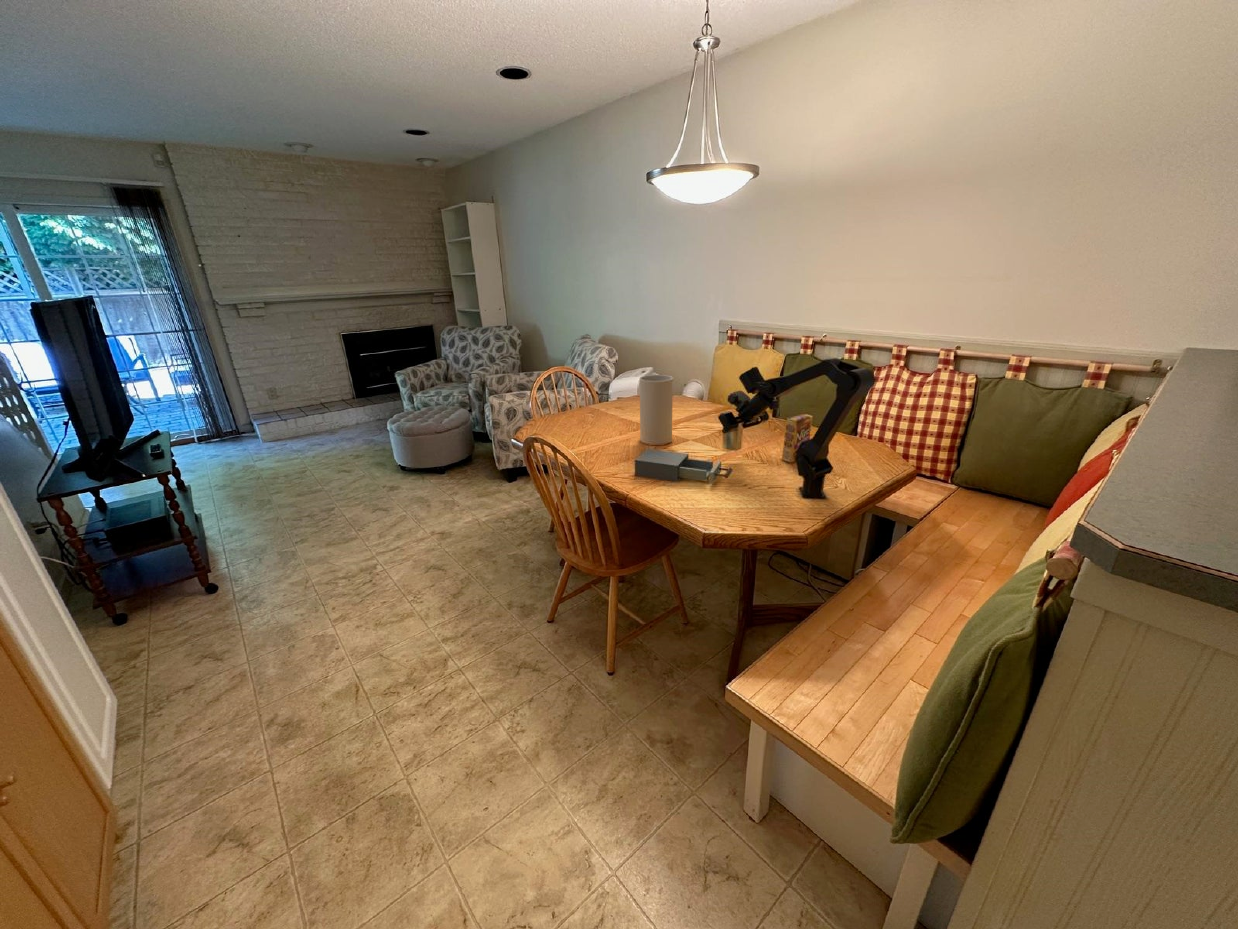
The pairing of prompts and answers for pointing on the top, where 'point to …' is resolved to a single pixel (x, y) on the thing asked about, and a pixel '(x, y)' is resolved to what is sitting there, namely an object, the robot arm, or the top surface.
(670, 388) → the cylinder vase
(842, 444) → the top surface
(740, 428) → the metal can
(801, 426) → the candy box
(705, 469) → the drawer
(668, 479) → the cabinet
